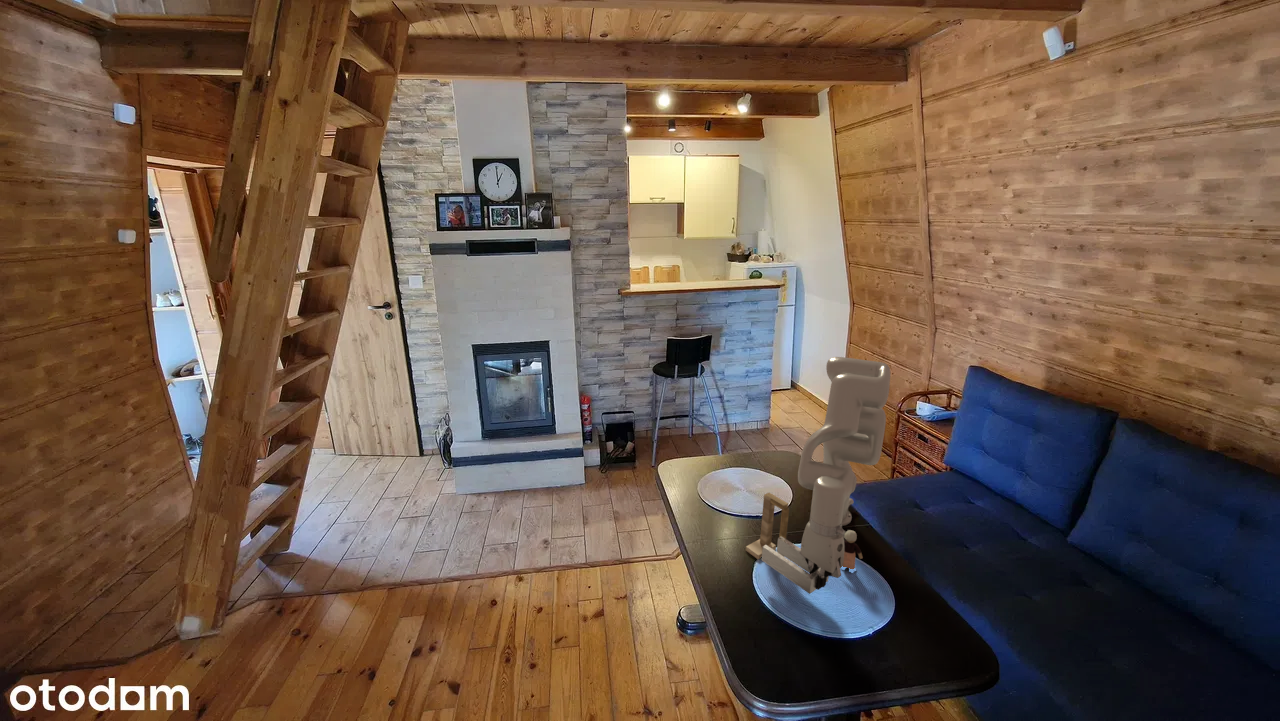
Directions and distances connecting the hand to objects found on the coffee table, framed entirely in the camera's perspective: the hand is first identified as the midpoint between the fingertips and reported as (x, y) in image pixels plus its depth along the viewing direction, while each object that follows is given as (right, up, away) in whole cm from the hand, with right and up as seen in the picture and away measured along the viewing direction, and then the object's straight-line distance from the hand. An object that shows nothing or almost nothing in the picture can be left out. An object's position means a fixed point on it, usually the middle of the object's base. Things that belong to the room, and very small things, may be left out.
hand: (816, 584), depth 130 cm
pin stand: (-8, 0, +21) cm, 22 cm away
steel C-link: (-4, +1, +6) cm, 7 cm away
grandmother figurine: (+14, -2, +15) cm, 21 cm away
